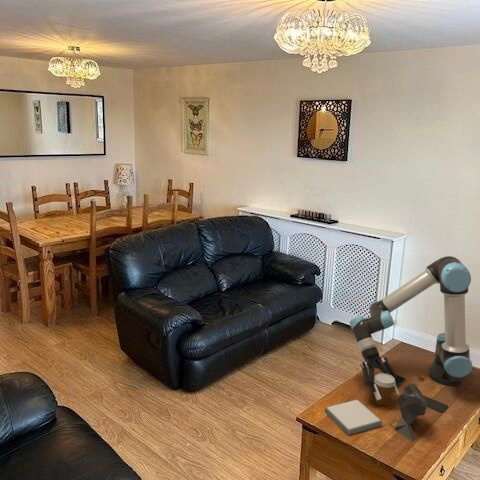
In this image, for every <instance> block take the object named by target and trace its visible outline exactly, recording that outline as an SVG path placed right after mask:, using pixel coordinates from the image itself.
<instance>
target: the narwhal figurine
mask: <svg viewBox="0 0 480 480" xmlns="http://www.w3.org/2000/svg"><path fill="white" fill-rule="evenodd" d="M399 394H400V395H399V396H398V398H397V400H396V402H397V404H398V406H399V408H398V410H399V411H400V415H401V418H400V419H399V421H398V422H397V424H396V426H395V428H394V431H395V432H397V433H398V434H400V435H401V436H402V437H404V438H405V439H408V440H409V441H411V442H414V441H415V440H417V437H416V435H415V433H414V430H413V428H412V425H413V423H414V421H415V420H416V419H417V417H421V416H424V415H425V413H426V410H427V408H428V407H427V405H428V402H427V401H426V399H425V397H424V396H425V395H424V396H423V393H422V391H421V390H420V389H419V388H418V386H417V385H416V384H408V385H407V386H405V387H404V389H403V392H401V391H400V392H399Z"/></svg>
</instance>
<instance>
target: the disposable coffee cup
mask: <svg viewBox="0 0 480 480" xmlns="http://www.w3.org/2000/svg"><path fill="white" fill-rule="evenodd" d="M395 383H396V382H395V379H394V377H393V376H391V375H389V374H385V373H383V372H380V373H377V374H374V384H376V386H377V389H378V391H379V394H380V396H381V399H379V400H377V399H376V397H374V398H375V399H374V400H375V403H376V404H377V405H379V406H383V407H385V406H388V405H390V404H391V399H392V396H393V388H394V385H395Z"/></svg>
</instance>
